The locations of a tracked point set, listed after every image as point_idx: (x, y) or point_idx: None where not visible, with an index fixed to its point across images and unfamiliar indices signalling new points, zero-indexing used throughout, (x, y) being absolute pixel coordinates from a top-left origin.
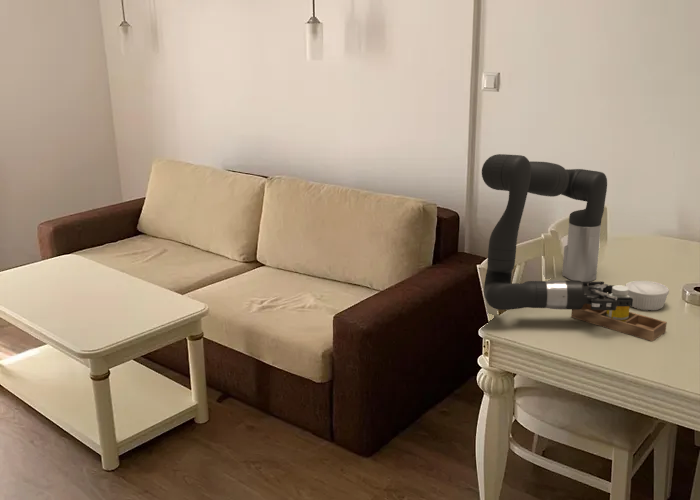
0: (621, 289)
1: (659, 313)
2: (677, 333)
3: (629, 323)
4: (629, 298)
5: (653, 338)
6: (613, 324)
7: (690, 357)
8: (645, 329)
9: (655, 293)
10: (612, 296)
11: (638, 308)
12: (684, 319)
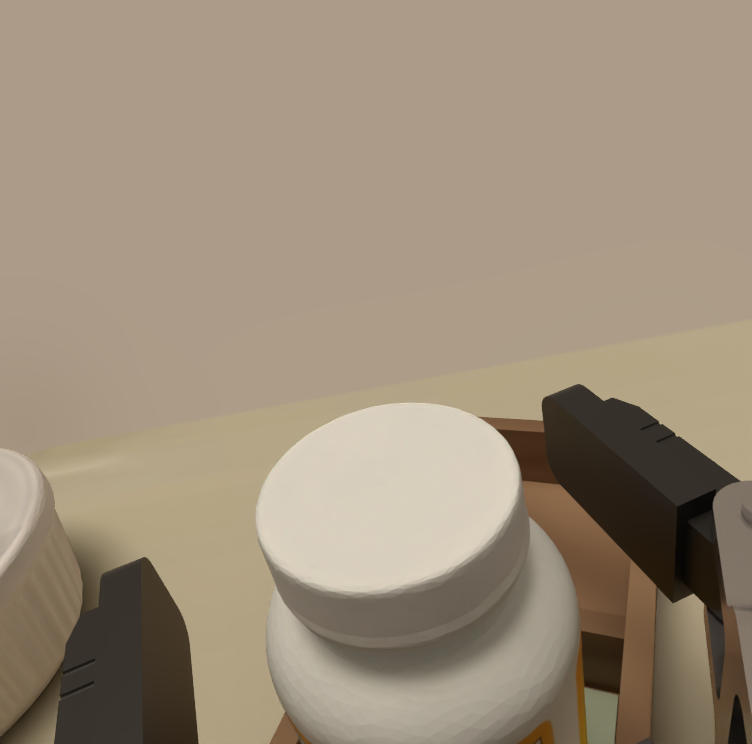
0: (453, 454)
1: (132, 554)
2: None
3: (631, 588)
4: (597, 399)
5: None
6: None
7: (726, 334)
8: None
9: (20, 488)
10: (729, 558)
11: (45, 685)
12: (215, 445)
